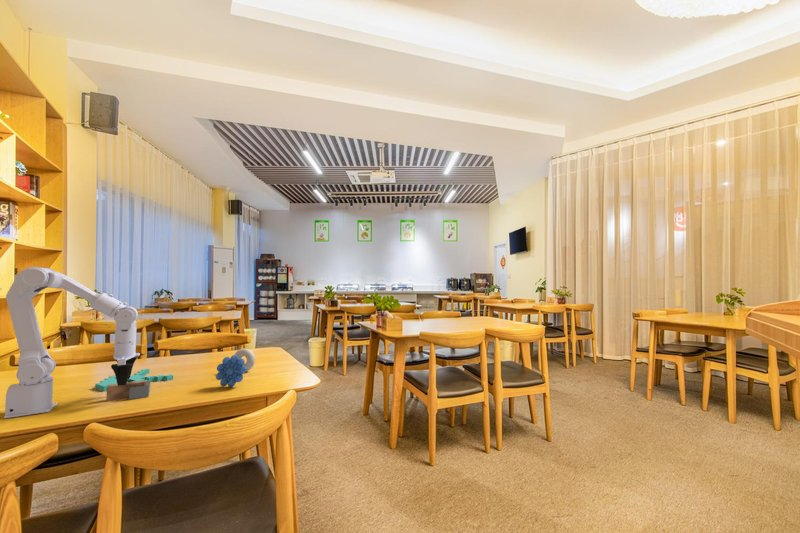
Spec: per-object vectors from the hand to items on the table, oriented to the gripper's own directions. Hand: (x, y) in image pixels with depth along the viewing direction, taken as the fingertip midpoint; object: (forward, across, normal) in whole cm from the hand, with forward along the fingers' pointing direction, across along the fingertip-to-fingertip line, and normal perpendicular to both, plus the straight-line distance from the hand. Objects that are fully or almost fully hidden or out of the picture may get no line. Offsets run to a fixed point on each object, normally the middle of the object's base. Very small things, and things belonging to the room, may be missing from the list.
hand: (123, 382), depth 115 cm
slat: (+6, 0, -1) cm, 6 cm away
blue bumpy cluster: (+5, -5, -33) cm, 34 cm away
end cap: (+5, 0, -4) cm, 7 cm away
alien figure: (+6, +20, 0) cm, 21 cm away
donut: (+5, +14, -40) cm, 42 cm away
